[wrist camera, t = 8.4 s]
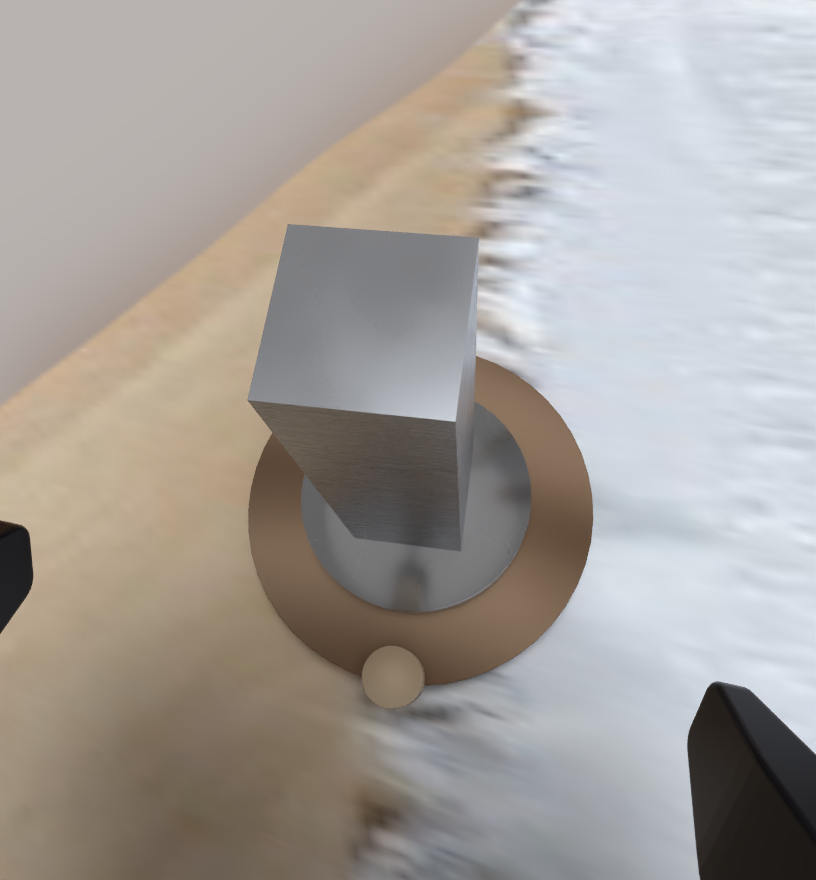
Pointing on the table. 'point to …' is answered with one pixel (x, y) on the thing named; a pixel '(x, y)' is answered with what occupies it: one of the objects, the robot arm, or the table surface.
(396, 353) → the silver block on disc
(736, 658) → the table surface
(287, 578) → the post base
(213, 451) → the table surface
